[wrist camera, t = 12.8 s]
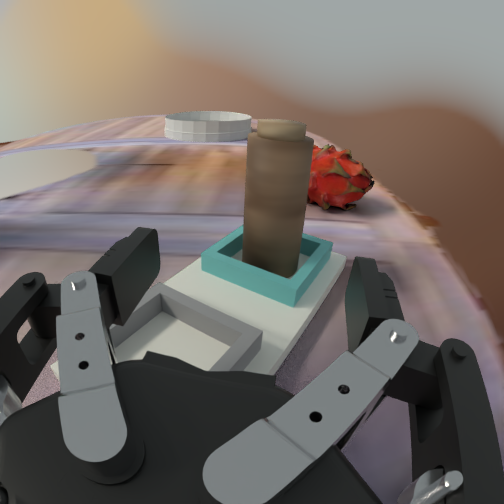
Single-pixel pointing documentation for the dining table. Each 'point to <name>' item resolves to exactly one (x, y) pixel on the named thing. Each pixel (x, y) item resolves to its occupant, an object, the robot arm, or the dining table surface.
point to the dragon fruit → (336, 178)
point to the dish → (207, 126)
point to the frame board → (229, 309)
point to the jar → (276, 195)
